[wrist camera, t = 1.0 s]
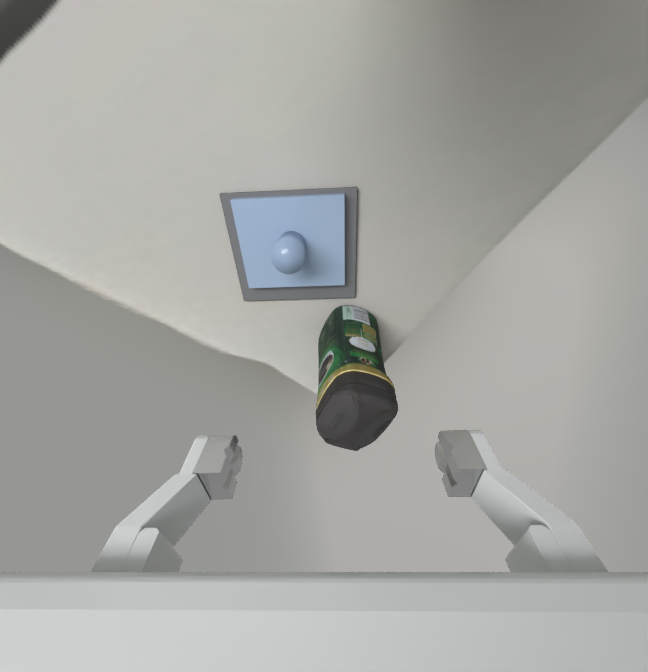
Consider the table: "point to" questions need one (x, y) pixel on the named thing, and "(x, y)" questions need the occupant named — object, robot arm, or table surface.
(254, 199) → the lid
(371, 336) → the coffee jar
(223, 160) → the table surface
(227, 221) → the mat
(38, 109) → the table surface
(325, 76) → the table surface
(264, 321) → the table surface
